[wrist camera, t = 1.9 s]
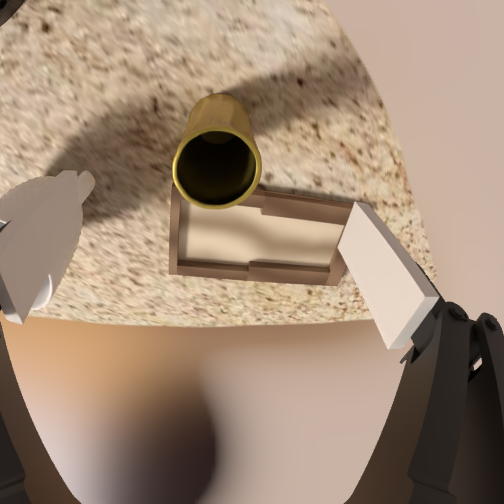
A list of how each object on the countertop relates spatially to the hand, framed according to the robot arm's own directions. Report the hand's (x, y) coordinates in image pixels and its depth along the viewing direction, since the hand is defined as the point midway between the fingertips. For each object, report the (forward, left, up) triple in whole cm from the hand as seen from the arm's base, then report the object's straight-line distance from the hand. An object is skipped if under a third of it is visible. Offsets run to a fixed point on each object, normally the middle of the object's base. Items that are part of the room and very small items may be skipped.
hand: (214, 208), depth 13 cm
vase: (0, 0, -19) cm, 19 cm away
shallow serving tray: (+13, +8, -19) cm, 24 cm away
